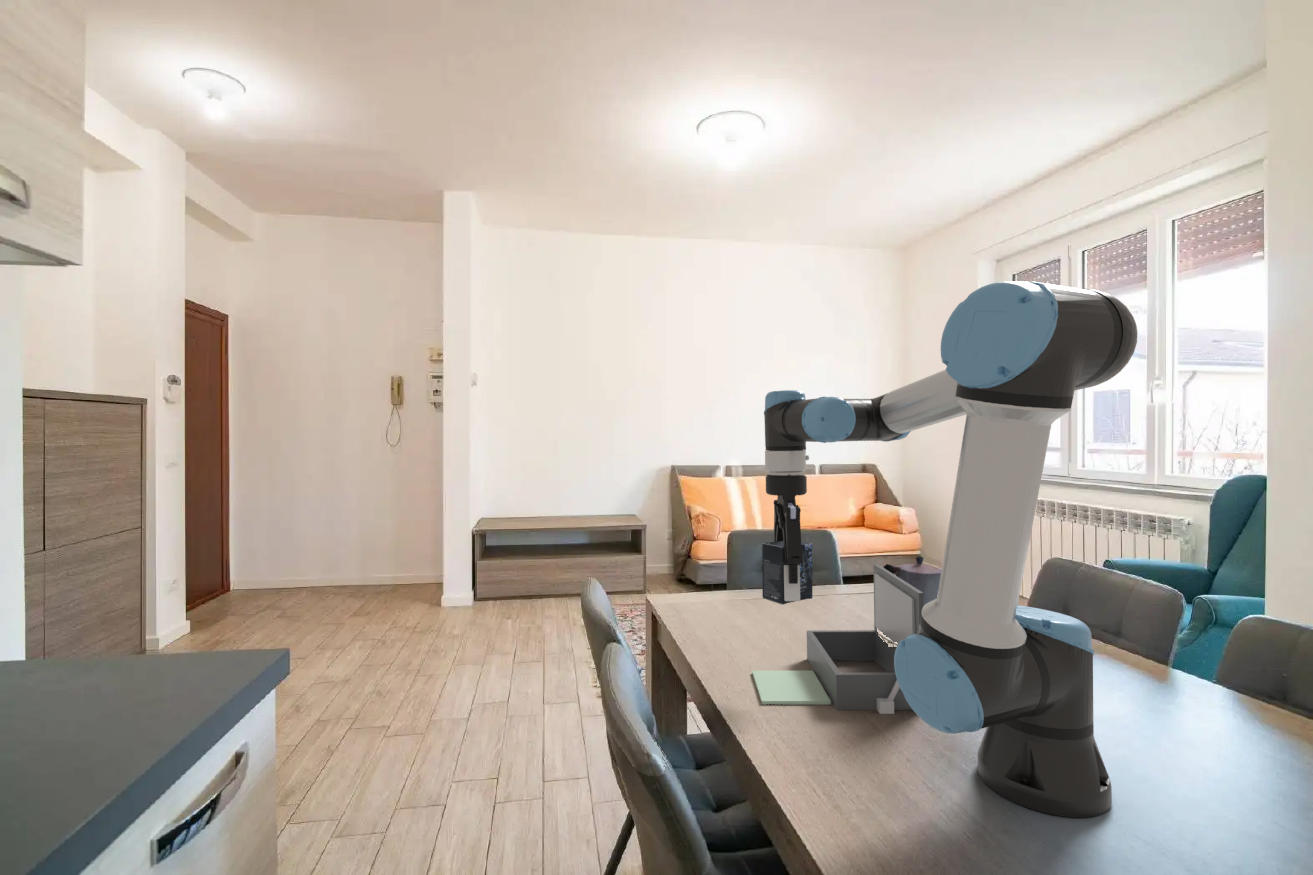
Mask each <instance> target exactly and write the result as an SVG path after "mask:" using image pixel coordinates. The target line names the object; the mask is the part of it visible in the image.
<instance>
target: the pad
mask: <svg viewBox="0 0 1313 875" xmlns="http://www.w3.org/2000/svg"><path fill="white" fill-rule="evenodd" d="M751 672H752V677H753V680H754V683H755V686H756V690H757V693H758V696H759V699H760V702H762V703H761V705H767V704H768V705H769V704H772V705H773V704H775V705H776V706H777V704H778V706H779V705H781V704H782V705H797V706H798V705H800V706H802V705H804V706H805V705H810V706H811V705H812V706H813V705H814V706H815V705H820V706H823V705H830V706H831V705H832V701H831V699H830V697H829V696H828V694H827V692H826V690H825V689H824V687H823V685H822V684H821V682H820V680H819V678H818V677H817V675H816V673H815V672H814V670H752V671H751Z"/></svg>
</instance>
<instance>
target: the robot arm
mask: <svg viewBox="0 0 1313 875" xmlns="http://www.w3.org/2000/svg"><path fill="white" fill-rule="evenodd" d="M1137 343H1138V326H1137V323H1136V320H1135V318H1134V316H1133V314H1132V313H1131V311H1130V310H1129V308H1128V306H1126V305H1125V304H1124V303H1123V302H1122V301H1121V300H1119V299H1118V298H1116V297H1114V296H1113V295H1111V294H1109V293H1107V292H1103V291H1100V290H1097V289H1092V288H1091V289H1090V288H1082V287H1081V288H1078V287H1071V286H1064V285H1057V284H1052V283H1051V284H1050V283H1044V282H1038V281H1027V280H1021V281H998V282H993V283H992V282H991V283H989V284H986V285H983V286H981V287H979V288H976V290H974V291H972V292H971V293H970V294H968V296H967V297H966V298H965V299H964V300H963V301H961V302H959V303H958V305H957V306H956V307H955V308H954V310H953V311H951V314H950V315H949V318H948V320H947V321H946V323H945V325H944V328H943V331H942V334H941V340H940V358H941V362H942V363H943V365H945V366H946V368H945V369H944V370H941V371H938V372H936V373H933V374H931V375H929V376H926V377H924V378H921V379H919V380H917V381H914V382H911V383H908V384H907V385H903V386H901V387H899V388H897V389H894V390H891V391H889V392H888V393H887V392H886V393H884V394H882V395H879V396H877V397H874V398H842V397H839V396H820V397H818V398H817V397H816V398H811V399H806V394H805V392H804V391H803V390H794V389H791V390H790V389H787V390H786V389H785V390H776V391H775V390H774V391H773V390H772V391H770V392H768V393H766V395H765V397H764V411H763V417H764V445H765V450H764V471H765V472H767V473H768V474H766V476H765V493H766V494H767V495H769V496H777V499H774V500H773V511H774V513H773V518H774V519H773V542H776V541H784V552H785V561H782V562H781V564H782V565H784V600H785V601H795V602H801V600H800V564H802V562H803V559H802V546H801V541H802V532H801V507H800V506H799V505H798V504H797V503H796V497H797V496H804V495H806V493H807V492H808V489H807V486H808V484H807V476H806V474H804V473H805V472H806V471H807V462H806V461H809V460H810V456H809V455H807V453H806V452H807V451H806V450H807V443H808V442H810V443H822V444H826V443H838V442H858V441H859V442H863V441H864V442H869V441H871V442H872V441H873V442H886V443H887V442H891V441H898V440H904V439H905V438H906V437H908V435H909V434H910V433H911V432H912V431H915V430H919V429H923V428H926V427H929V426H933V425H935V424H939V423H942V422H945V421H948V420H952V419H956V418H959V417H962V416H965V415H966V417H965V424H964V429H963V433H962V434H963V436H962V442H961V447H960V448H961V449H960V453H959V459H958V460H959V461H958V468H957V472H956V473H957V474H956V478H955V479H956V480H955V486H954V491H953V496H952V504H951V509H950V516H949V522H948V523H949V524H948V528H947V534H946V541H945V548H944V555H943V559H942V567H941V569H942V572H941V578H940V584H939V590H938V596H937V599H935V600H933V601H931V602H928V603H927V604H925V605H924V606H923V608H922V613H921V619H920V626H919V631H918V634H911V635H909V636H907V637H906V638H905V639H904V640H902V641H900V642H899V644H898V645H897V647H896V650H895V655H894V668H895V674H896V678H897V681H898V684H899V687H900V689H901V690H902V692H903V694H904V696H905V699H906V701H907V702H908V704H909V705H910V707H911V708H912V709H913V710H912V711H913V712H914V713H915V714H916V715H917V716H918V717H919V719H921V720H922V721H923V722H924V723H925V724H926V725H928V726H929V727H931V728H932V729H935V730H937V731H939V732H942V733H943V734H944V733H946V734H960V733H973V732H978V731H979V730H982V729H985V728H986V729H985V732H984V734H983V736H982V740H981V742H980V745H979V748H978V750H977V773H978V775H979V778H981V780H982V781H983V782H984V783H985V784H986V785H987V786H988V787H989V788H990V789H991V790H992V791H994V792H996V793H997V794H998V795H1000V796H1002V797H1004V798H1005V799H1007V800H1010V801H1011V802H1014V803H1015V804H1018V805H1020V806H1023V807H1025V808H1028V809H1031V810H1034V811H1038V812H1041V813H1043V814H1044V813H1045V814H1048V815H1049V814H1050V815H1054V816H1059V817H1061V816H1062V817H1066V818H1067V817H1068V818H1089V817H1091V818H1092V817H1096V816H1099V815H1102V814H1104V813H1107V811H1108V810H1110V808H1112V807H1111V806H1112V804H1113V799H1112V798H1113V797H1112V795H1113V794H1112V782H1111V779H1110V776H1109V774H1108V771H1107V768H1106V764H1105V763H1104V761H1103V760H1104V759H1103V757H1102V756H1101V753H1100V749H1099V747H1098V744H1097V742H1096V739H1095V734H1094V732H1095V731H1094V730H1095V729H1094V726H1095V725H1094V655H1095V650H1094V649H1093V641H1092V640H1093V639H1092V632H1091V629H1090V628H1089V627H1088V625H1087V624H1086V623H1085V622H1083V621H1081V620H1080V619H1078V618H1075V617H1073V616H1070V615H1067V614H1064V613H1061V612H1057V611H1053V610H1047V609H1044V608H1043V609H1042V608H1037V607H1033V606H1025V605H1019V600H1020V598H1019V597H1020V593H1021V590H1022V582H1023V577H1024V572H1025V567H1026V560H1027V556H1028V550H1029V546H1030V541H1031V540H1030V539H1031V535H1032V531H1033V530H1032V529H1033V525H1034V520H1035V514H1036V508H1037V502H1038V498H1039V494H1040V493H1039V492H1040V489H1041V488H1040V487H1041V482H1042V476H1043V472H1044V467H1045V461H1046V454H1047V450H1048V443H1049V439H1050V434H1051V429H1052V424H1053V423H1054V422H1055V421H1056V420H1058V419H1059V418H1061V417H1062V416H1065V415H1066V414H1068V413H1069V412H1070V411H1071V409H1072V406H1073V400H1074V395H1075V391H1080V390H1083V389H1087V388H1092V387H1095V386H1099V385H1102V384H1103V383H1105V382H1108V381H1109V380H1111V379H1112V378H1114V377H1116V375H1118V374H1119V373H1121V371H1122V370H1123V369H1124V368H1125V367H1126V366H1127V365H1128V363H1129V362H1130V361H1131V359H1132V357H1133V355H1134V353H1135V350H1136V347H1137ZM791 556H796V557H791Z"/></svg>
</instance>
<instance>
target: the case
mask: <svg viewBox="0 0 1313 875" xmlns="http://www.w3.org/2000/svg"><path fill="white" fill-rule="evenodd" d="M872 565H873V568H872V569H873V614H874V616H873V617H874V619H873V622H874V623H873V624H874V626H873V627H874V629H873V630H871V629H869V630H866V629H863V630H862V629H860V630H859V629H858V630H848V629H847V630H840V629H838V630H826V629H825V630H823V629H822V630H821V629H820V630H806V660H807V661H808V663H809V665H810V667H811V668H812V671H814V673H815V675H816V677H817V678H818V680H819V682H820V683H821V685H822V687H823V689H824V690H825V692H826V694H827V695H828V697H829V699H830V701H831V703H832V704H833V707H835V710H839V711H840V710H842V711H843V710H845V711H849V710H850V711H857V710H858V711H859V710H860V711H863V710H865V711H870V710H871V711H873V710H874V711H877V712H878V714H879V715H895V711H913V709H912V708H911V707H910V705H909V704H908V702H907V701H906V699H905V696H904V694H903V692H902V690H901V689H900V687H899V684H898V681H897V678H896V674H895V668H894V655H895V650H896V647H888V644H887V643H886V642H883V640H882V639H881V638H880V637H879V636H878V632H877V627H878V628H879V630H880V631H881V632H883V634H884V635H886V637H889V638H890V639H891V640H892V641H893V642H897V643H898V644H899V642H900V641H902V640H904V639H905V638H906V637H907V636H909V635H911V634H918V631H919V626H920V619H921V613H922V608H923V606H924V596H923V592H921V591H920V590H918V589H916V588H915V587H913V586H912V585H910V584H908V583H907V582H905V581H904V580H902V579H900V578H899V577H898V575H897V574H892V573H891V572H889V571H888V570H886V569H885V568H884V566H881V565H879V564H878V563H873V564H872ZM834 661H838V662H839V661H844V662H845V661H849V662H850V661H851V662H852V661H862V662H864V661H873V662H874V661H875V663H877V664H878V665H879V666H880V667H881V668H882V670H883V671H884V672H841V670H839V668H838V667H837V665H836V663H835V662H834Z"/></svg>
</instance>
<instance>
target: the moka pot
mask: <svg viewBox="0 0 1313 875" xmlns="http://www.w3.org/2000/svg"><path fill="white" fill-rule="evenodd" d="M915 561H916V562H915V563H902V564H897V565H892V564H888V563H886V564H885V565H883V568H885V569H886V570H888V571H889V572H891V573H892V574H894V575H896V576H897V577H899V578H900V579H902V580H904V581H905V582H907V583H908V584H910V585H912V586H913V587H915V588H916V589H918V590H920V591H921V592H923V596H924V605H925V604H927V603H928V602H931V601H933V600H935V599H937V596H938V590H939V584H940V578H941V572H942V568H939V567H933V566H931V565H927V564H924V563H923V562H924V557H923V556H920V555H918V556H916V557H915Z"/></svg>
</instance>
